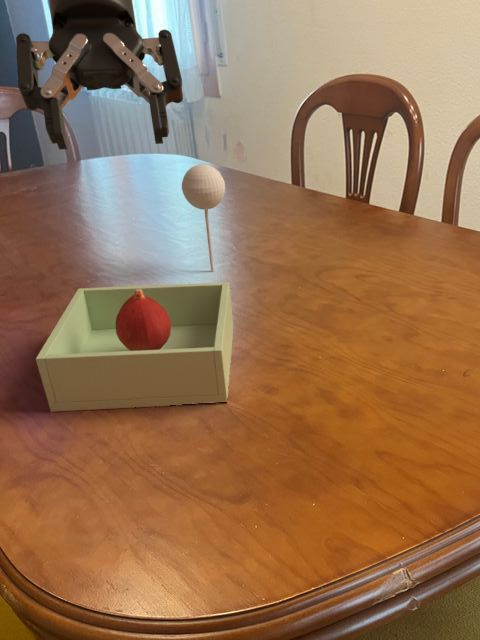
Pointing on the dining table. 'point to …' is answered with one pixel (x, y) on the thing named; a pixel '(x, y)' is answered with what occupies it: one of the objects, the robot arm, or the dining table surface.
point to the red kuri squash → (142, 323)
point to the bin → (139, 366)
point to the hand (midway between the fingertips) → (111, 141)
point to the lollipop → (204, 193)
